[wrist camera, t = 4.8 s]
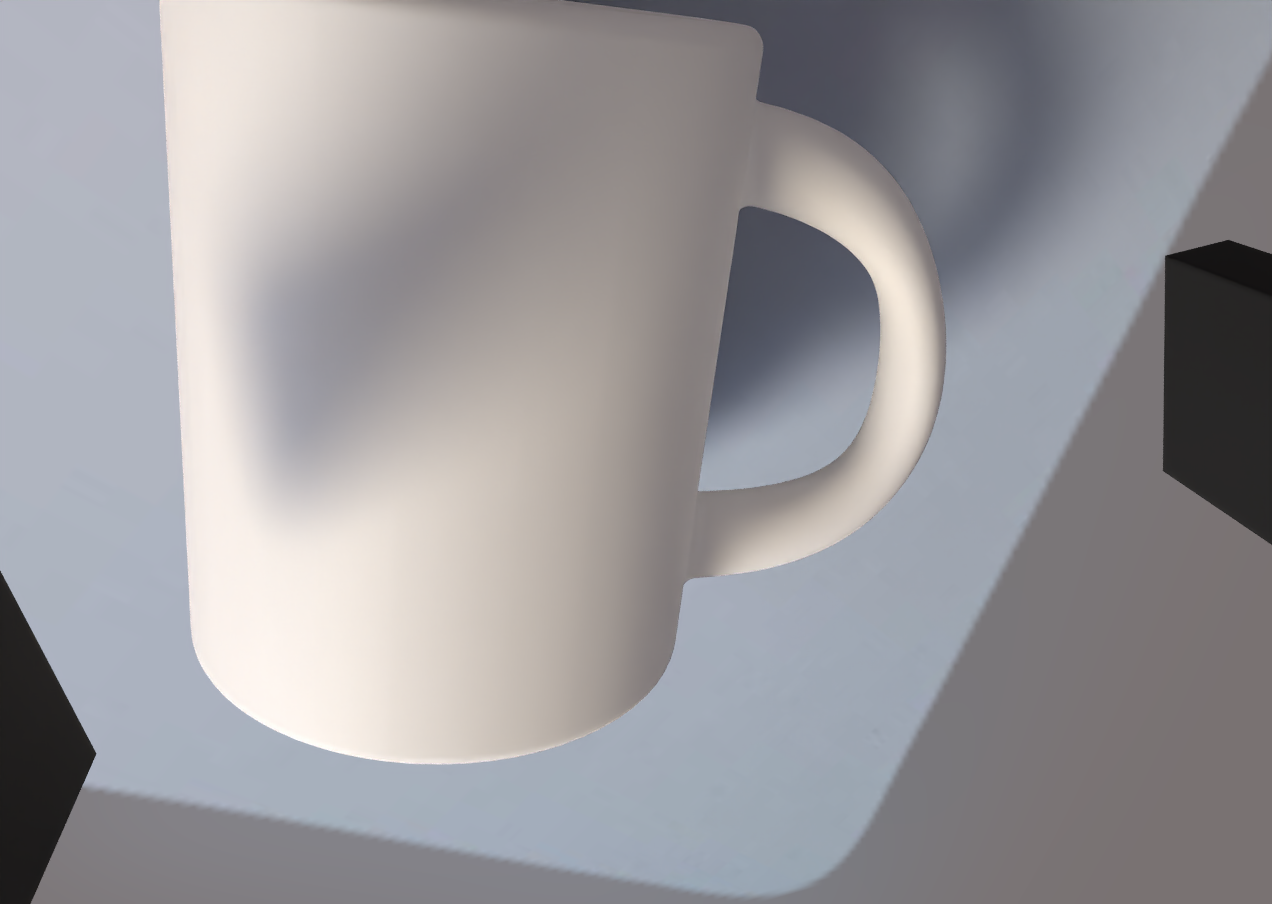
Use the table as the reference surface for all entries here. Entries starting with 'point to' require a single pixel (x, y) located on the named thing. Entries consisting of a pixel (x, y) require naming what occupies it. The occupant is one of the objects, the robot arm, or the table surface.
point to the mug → (488, 354)
